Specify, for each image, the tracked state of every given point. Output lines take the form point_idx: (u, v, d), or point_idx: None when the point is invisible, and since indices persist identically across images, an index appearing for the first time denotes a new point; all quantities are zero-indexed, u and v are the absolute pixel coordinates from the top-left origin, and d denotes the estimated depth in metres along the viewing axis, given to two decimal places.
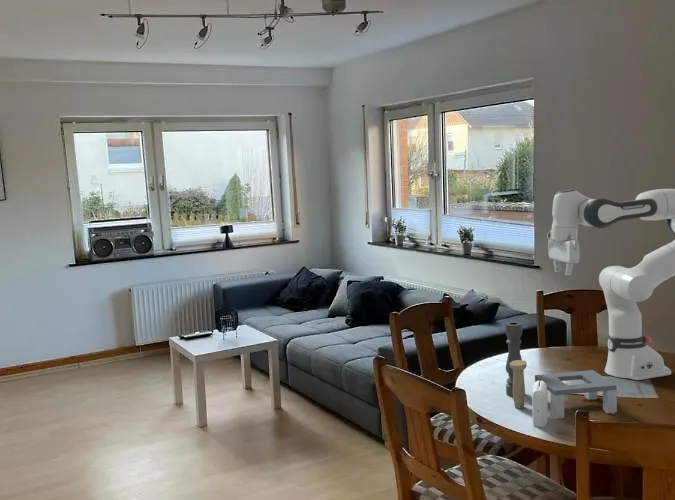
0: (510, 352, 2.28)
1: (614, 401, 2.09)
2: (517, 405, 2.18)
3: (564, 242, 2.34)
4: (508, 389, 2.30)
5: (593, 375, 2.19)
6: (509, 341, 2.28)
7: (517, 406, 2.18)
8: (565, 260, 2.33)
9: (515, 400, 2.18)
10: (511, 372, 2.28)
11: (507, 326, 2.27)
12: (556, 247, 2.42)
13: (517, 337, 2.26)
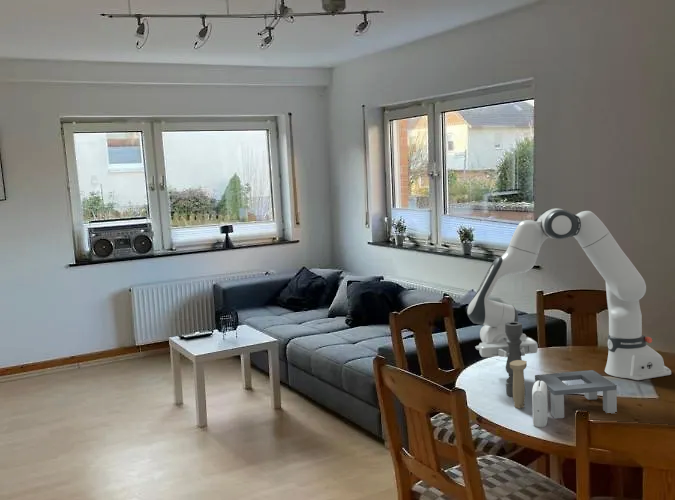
0: (510, 352, 2.28)
1: (614, 401, 2.09)
2: (517, 405, 2.18)
3: None
4: (508, 389, 2.30)
5: (593, 375, 2.19)
6: (509, 341, 2.28)
7: (517, 406, 2.18)
8: None
9: (515, 400, 2.18)
10: (511, 372, 2.28)
11: (507, 326, 2.27)
12: None
13: (517, 337, 2.26)
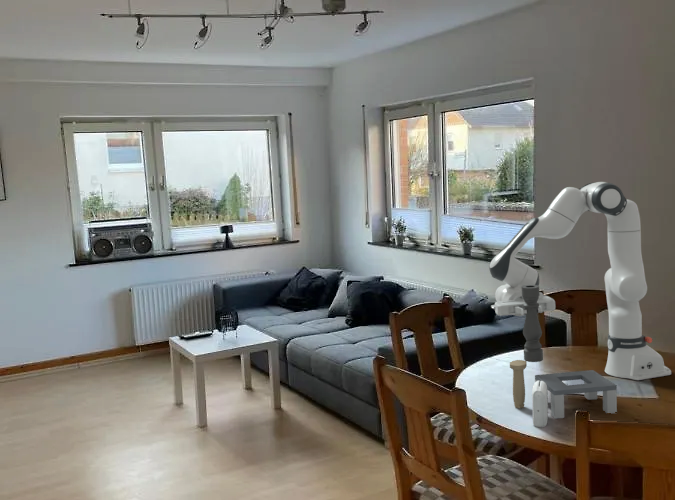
0: (528, 316, 2.22)
1: (614, 401, 2.09)
2: (517, 405, 2.18)
3: None
4: (527, 354, 2.23)
5: (593, 375, 2.19)
6: (527, 305, 2.21)
7: (517, 406, 2.18)
8: (509, 314, 2.27)
9: (515, 400, 2.18)
10: (531, 336, 2.21)
11: (525, 289, 2.20)
12: None
13: (535, 300, 2.21)
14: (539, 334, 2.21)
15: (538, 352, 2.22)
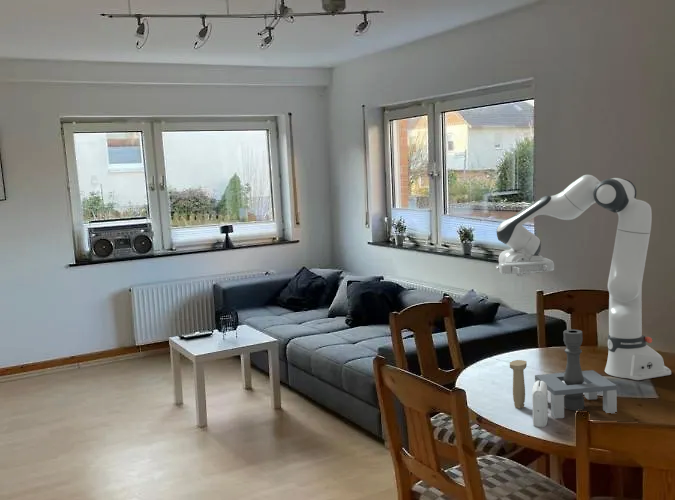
0: (570, 362, 2.13)
1: (614, 401, 2.09)
2: (517, 405, 2.18)
3: None
4: (568, 402, 2.14)
5: (593, 375, 2.19)
6: (570, 350, 2.13)
7: (517, 406, 2.18)
8: (511, 273, 2.49)
9: (515, 400, 2.18)
10: (572, 384, 2.13)
11: (568, 335, 2.12)
12: None
13: (578, 346, 2.12)
14: (581, 381, 2.13)
15: (580, 400, 2.13)
